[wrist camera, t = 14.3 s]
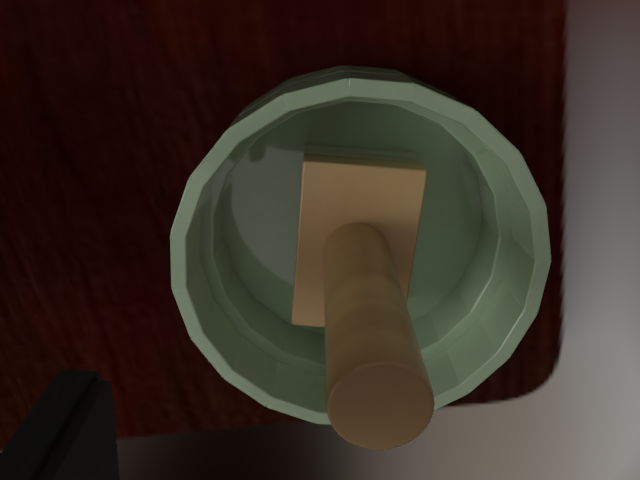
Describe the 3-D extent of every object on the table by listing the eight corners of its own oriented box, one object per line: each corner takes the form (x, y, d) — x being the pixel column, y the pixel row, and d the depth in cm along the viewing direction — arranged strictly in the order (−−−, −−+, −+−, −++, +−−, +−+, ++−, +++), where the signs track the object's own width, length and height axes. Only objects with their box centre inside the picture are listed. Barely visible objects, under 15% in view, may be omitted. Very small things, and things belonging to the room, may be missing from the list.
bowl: (201, 51, 19) (165, 62, 15) (529, 78, 20) (594, 98, 15) (201, 337, 24) (173, 415, 19) (470, 355, 24) (507, 436, 19)
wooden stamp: (304, 142, 20) (291, 267, 10) (414, 151, 20) (509, 283, 10) (293, 291, 22) (274, 513, 12) (393, 298, 22) (453, 523, 12)
